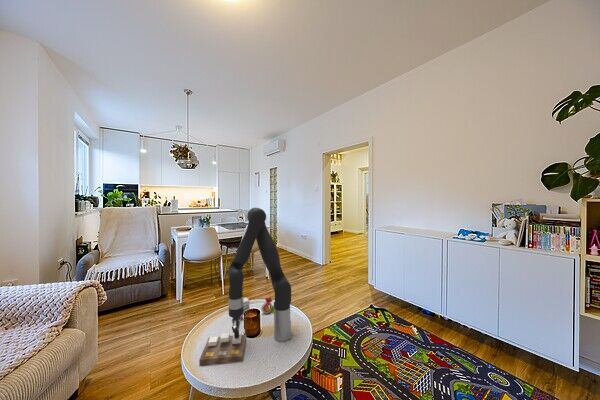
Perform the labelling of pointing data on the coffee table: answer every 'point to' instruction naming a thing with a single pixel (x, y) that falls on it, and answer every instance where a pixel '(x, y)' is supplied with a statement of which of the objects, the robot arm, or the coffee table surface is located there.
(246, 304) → the ink box
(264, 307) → the bird rattle
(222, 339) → the middle key
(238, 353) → the switch board
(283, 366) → the coffee table surface
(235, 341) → the key
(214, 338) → the key
